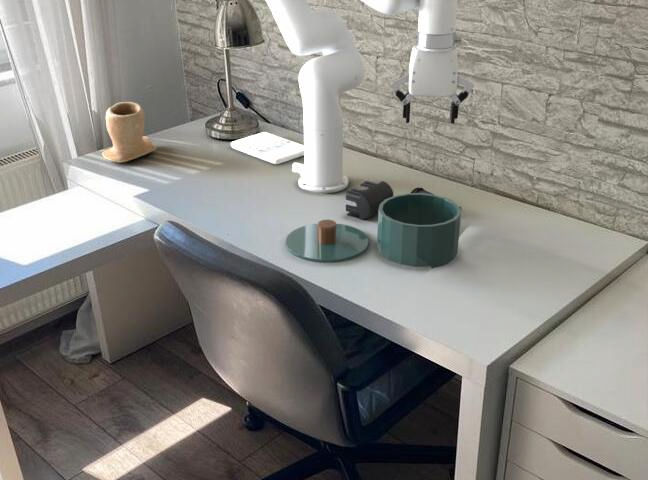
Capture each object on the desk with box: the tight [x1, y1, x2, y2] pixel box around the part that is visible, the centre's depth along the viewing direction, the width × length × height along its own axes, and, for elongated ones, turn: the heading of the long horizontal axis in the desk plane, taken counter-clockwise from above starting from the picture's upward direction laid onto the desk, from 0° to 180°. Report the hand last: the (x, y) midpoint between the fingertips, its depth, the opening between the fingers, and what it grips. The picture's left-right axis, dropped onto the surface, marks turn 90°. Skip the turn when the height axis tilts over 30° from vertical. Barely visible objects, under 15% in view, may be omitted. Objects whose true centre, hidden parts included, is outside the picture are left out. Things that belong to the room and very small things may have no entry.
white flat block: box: [230, 131, 304, 165], centre depth 222 cm, size 13×20×2 cm, turn 44°
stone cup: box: [101, 101, 157, 163], centre depth 215 cm, size 15×12×15 cm
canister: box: [376, 192, 462, 269], centre depth 166 cm, size 17×17×10 cm
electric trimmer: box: [410, 187, 462, 209], centre depth 187 cm, size 4×16×3 cm, turn 36°
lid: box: [284, 219, 369, 263], centre depth 170 cm, size 18×18×5 cm
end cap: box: [345, 180, 394, 221], centre depth 183 cm, size 10×7×7 cm
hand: (429, 121), depth 172 cm, fingers open, 9 cm apart
